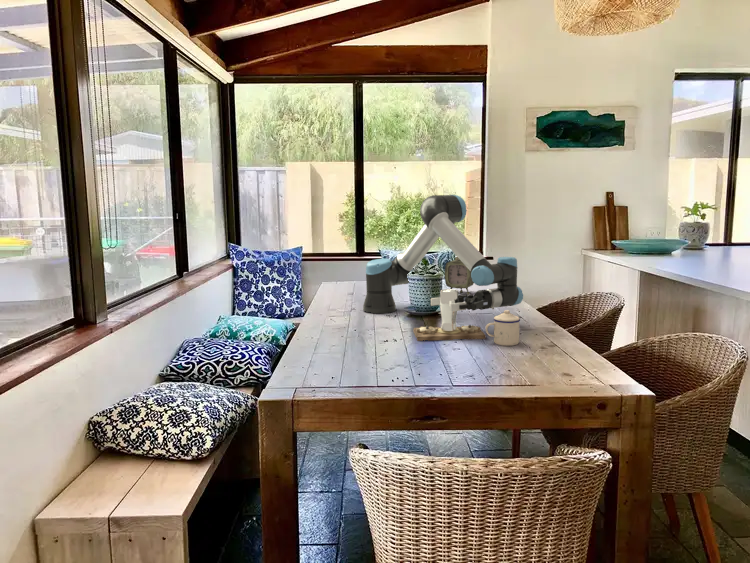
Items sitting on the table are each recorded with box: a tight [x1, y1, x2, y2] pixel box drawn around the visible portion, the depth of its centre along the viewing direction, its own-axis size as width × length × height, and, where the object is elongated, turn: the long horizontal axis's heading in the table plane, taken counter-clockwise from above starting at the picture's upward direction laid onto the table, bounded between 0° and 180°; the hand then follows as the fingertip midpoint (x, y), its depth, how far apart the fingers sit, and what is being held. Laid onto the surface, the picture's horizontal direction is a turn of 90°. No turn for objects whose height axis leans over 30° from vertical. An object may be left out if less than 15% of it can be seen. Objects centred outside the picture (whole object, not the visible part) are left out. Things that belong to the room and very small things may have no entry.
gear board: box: [413, 324, 487, 342], centre depth 210 cm, size 25×14×4 cm, turn 92°
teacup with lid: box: [484, 309, 521, 347], centre depth 197 cm, size 12×9×12 cm
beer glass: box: [439, 288, 459, 332], centre depth 209 cm, size 7×7×15 cm
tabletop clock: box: [444, 256, 475, 296], centre depth 298 cm, size 14×9×25 cm, turn 62°
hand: (440, 304), depth 207 cm, fingers open, 12 cm apart
